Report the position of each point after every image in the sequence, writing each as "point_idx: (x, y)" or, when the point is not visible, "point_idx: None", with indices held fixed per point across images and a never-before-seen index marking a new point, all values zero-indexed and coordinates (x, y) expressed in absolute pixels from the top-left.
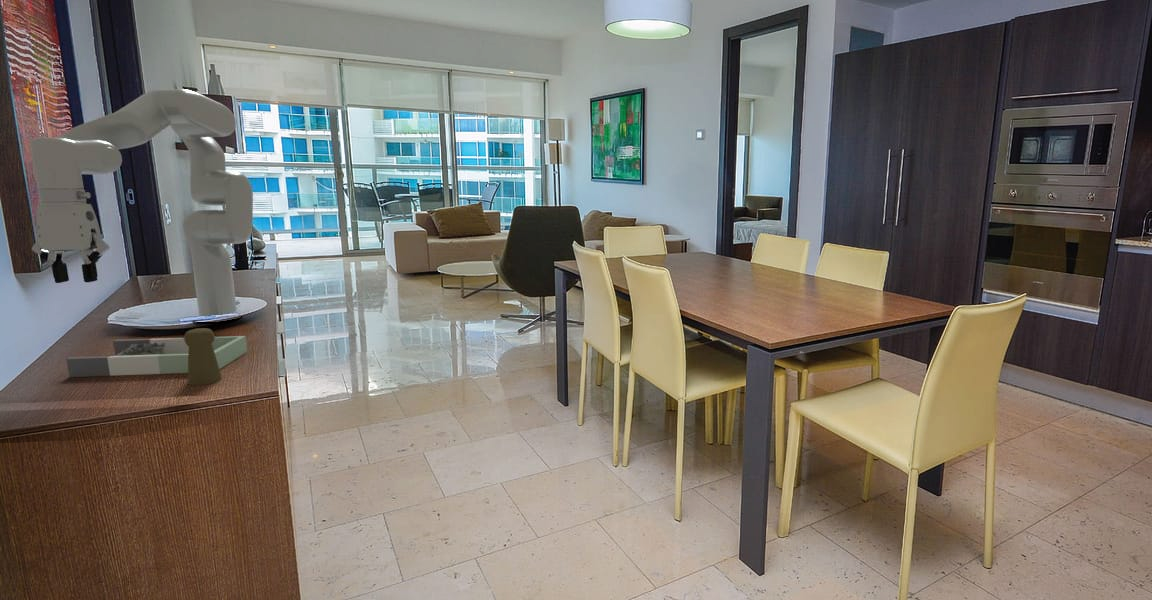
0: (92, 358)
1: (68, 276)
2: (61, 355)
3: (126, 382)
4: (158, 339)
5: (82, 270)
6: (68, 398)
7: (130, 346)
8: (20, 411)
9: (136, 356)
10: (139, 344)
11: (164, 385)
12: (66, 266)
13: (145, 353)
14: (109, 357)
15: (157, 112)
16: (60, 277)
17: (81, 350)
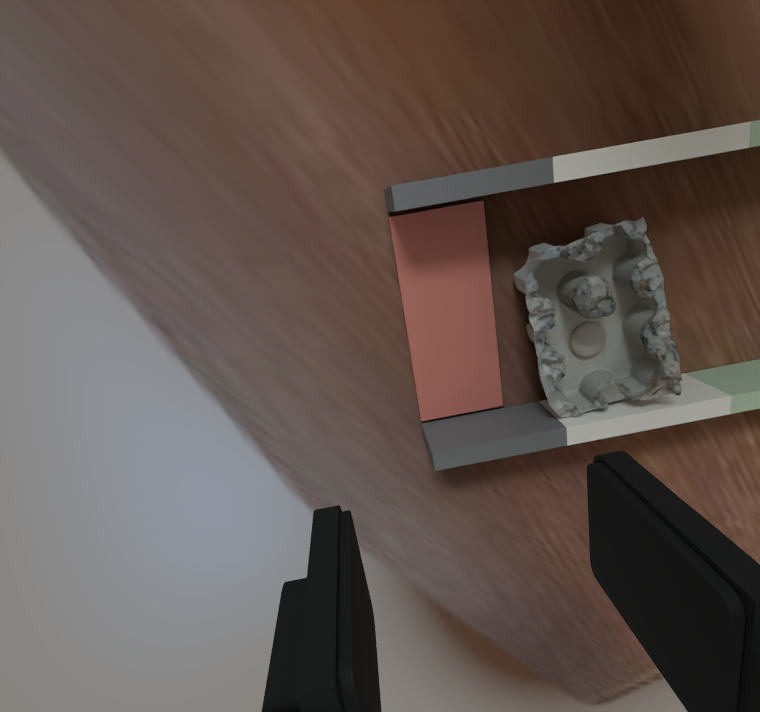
0: (519, 454)
1: (347, 531)
2: (119, 190)
3: None
4: (592, 172)
5: (668, 679)
6: (567, 575)
7: (528, 278)
8: (525, 645)
9: (661, 426)
10: (553, 255)
11: (748, 477)
12: (349, 641)
13: (657, 374)
14: (574, 443)
15: None
16: (370, 631)
17: (123, 99)
